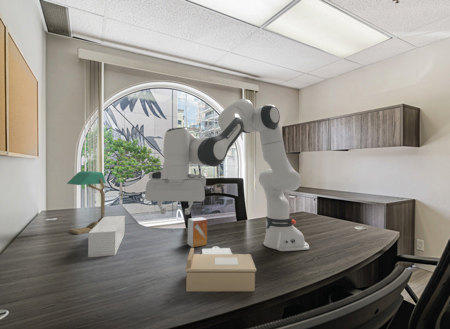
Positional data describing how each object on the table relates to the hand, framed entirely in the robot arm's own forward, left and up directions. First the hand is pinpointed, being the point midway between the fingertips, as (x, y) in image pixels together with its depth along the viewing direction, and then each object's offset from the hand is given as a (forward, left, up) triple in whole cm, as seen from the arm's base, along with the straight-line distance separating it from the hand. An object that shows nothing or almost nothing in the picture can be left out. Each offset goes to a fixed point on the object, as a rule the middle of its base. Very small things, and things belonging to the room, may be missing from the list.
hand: (175, 213), depth 83 cm
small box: (-5, -38, -24) cm, 45 cm away
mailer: (-16, 0, -23) cm, 28 cm away
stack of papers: (+39, -38, -24) cm, 59 cm away
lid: (-16, 0, -17) cm, 23 cm away
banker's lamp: (+61, -63, -24) cm, 91 cm away
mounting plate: (-15, -22, -24) cm, 36 cm away
